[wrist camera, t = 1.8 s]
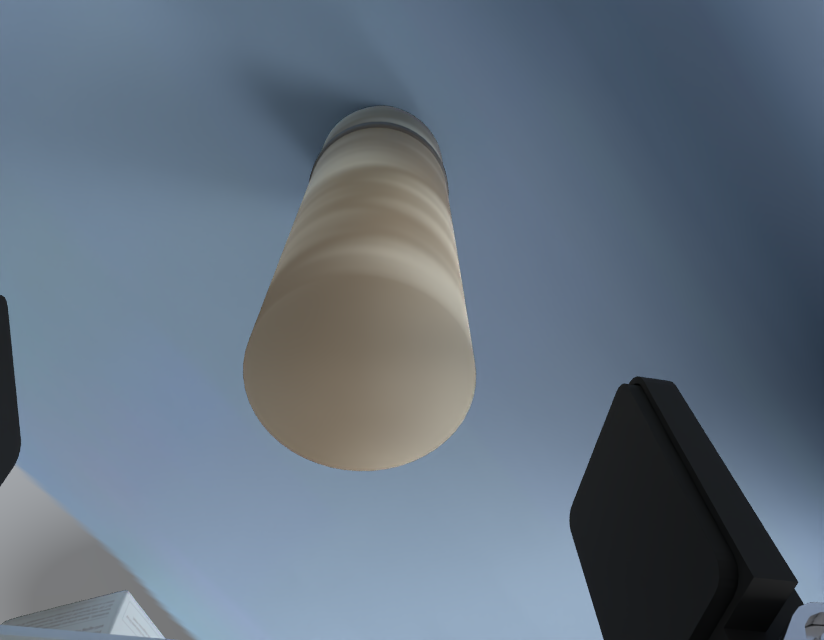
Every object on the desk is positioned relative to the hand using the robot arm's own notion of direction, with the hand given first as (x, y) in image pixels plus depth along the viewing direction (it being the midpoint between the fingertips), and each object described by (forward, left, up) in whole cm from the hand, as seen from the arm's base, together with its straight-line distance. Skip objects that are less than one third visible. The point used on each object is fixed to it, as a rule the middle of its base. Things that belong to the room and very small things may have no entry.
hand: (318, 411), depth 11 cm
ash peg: (-1, 0, -15) cm, 15 cm away
